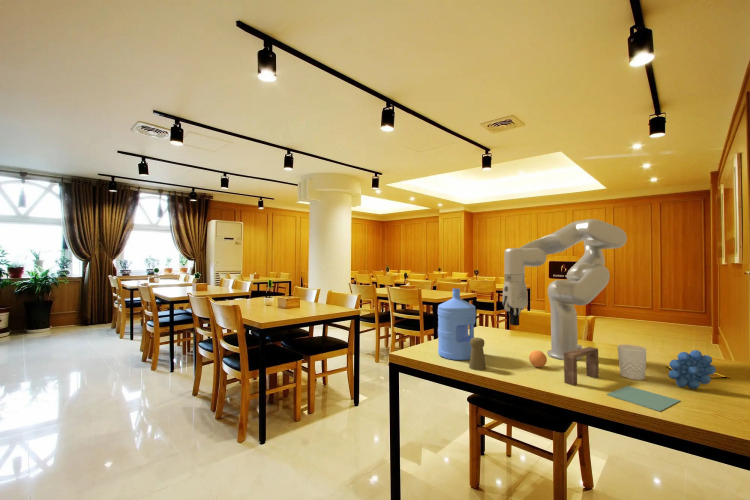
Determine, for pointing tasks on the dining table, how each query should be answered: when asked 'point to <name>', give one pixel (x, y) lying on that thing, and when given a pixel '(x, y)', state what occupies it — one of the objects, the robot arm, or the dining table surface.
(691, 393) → the dining table surface
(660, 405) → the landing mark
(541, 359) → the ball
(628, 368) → the white cup
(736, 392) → the dining table surface
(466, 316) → the water jug
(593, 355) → the bridge
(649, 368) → the dining table surface
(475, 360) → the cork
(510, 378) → the dining table surface
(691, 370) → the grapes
